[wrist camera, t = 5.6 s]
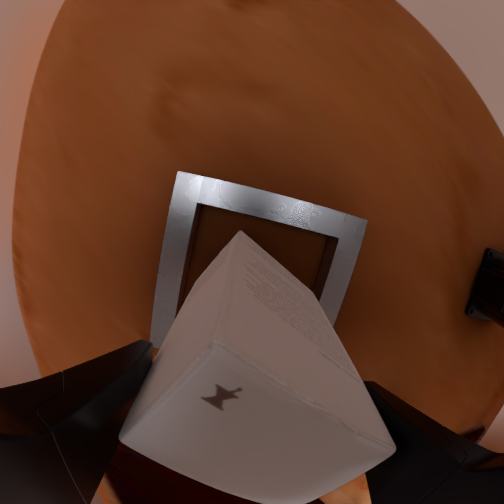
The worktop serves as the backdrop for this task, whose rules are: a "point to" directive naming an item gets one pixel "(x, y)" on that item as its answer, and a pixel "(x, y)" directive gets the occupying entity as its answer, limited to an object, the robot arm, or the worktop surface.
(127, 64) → the worktop surface
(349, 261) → the silver metal square frame
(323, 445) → the skincare box
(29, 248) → the worktop surface
